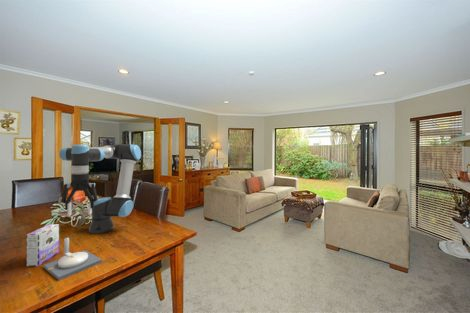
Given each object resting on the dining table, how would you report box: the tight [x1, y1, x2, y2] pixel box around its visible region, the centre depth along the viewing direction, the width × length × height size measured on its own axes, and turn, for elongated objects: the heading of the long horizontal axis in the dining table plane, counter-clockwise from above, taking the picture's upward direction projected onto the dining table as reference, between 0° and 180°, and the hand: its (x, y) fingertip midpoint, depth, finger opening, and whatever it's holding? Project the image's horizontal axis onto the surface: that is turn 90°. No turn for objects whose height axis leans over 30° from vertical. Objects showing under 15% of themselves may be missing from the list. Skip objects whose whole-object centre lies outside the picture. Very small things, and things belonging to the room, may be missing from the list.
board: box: [43, 249, 103, 281], centre depth 104 cm, size 19×18×2 cm
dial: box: [57, 237, 88, 268], centre depth 105 cm, size 15×12×10 cm
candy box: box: [25, 223, 60, 267], centre depth 108 cm, size 14×6×16 cm, turn 5°
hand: (79, 214), depth 111 cm, fingers open, 9 cm apart
